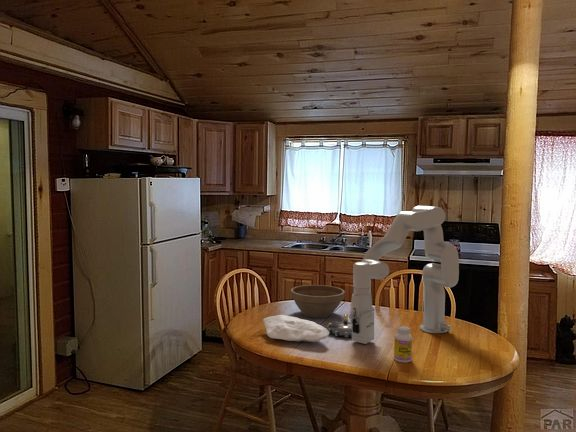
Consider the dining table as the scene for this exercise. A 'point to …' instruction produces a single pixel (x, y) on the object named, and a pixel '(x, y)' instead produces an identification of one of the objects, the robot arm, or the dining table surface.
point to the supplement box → (364, 328)
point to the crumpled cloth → (294, 329)
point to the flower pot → (317, 299)
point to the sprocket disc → (341, 328)
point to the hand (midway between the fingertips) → (361, 330)
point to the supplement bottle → (403, 345)
